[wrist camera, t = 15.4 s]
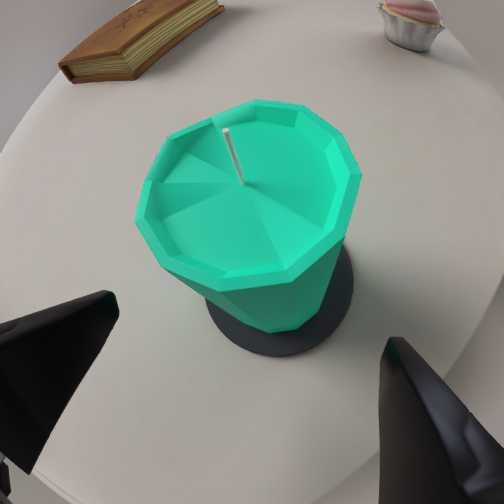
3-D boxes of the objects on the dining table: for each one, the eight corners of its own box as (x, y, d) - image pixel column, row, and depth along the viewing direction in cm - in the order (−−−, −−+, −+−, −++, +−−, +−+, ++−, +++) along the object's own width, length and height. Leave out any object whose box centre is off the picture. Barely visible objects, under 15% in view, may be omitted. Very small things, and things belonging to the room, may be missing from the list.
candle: (329, 238, 17) (356, 62, 6) (322, 338, 15) (382, 284, 4) (234, 232, 18) (153, 73, 7) (218, 326, 16) (68, 253, 5)
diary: (151, 18, 41) (143, -2, 35) (225, 10, 35) (218, -16, 30) (71, 84, 35) (55, 62, 30) (134, 80, 29) (116, 48, 24)
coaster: (360, 347, 15) (362, 347, 14) (206, 358, 16) (204, 358, 16) (339, 207, 18) (340, 204, 18) (206, 222, 19) (204, 219, 19)
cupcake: (433, 66, 23) (448, 1, 14) (366, 39, 26) (368, -26, 17) (443, 46, 25) (453, -7, 15) (385, 23, 28) (389, -30, 19)
